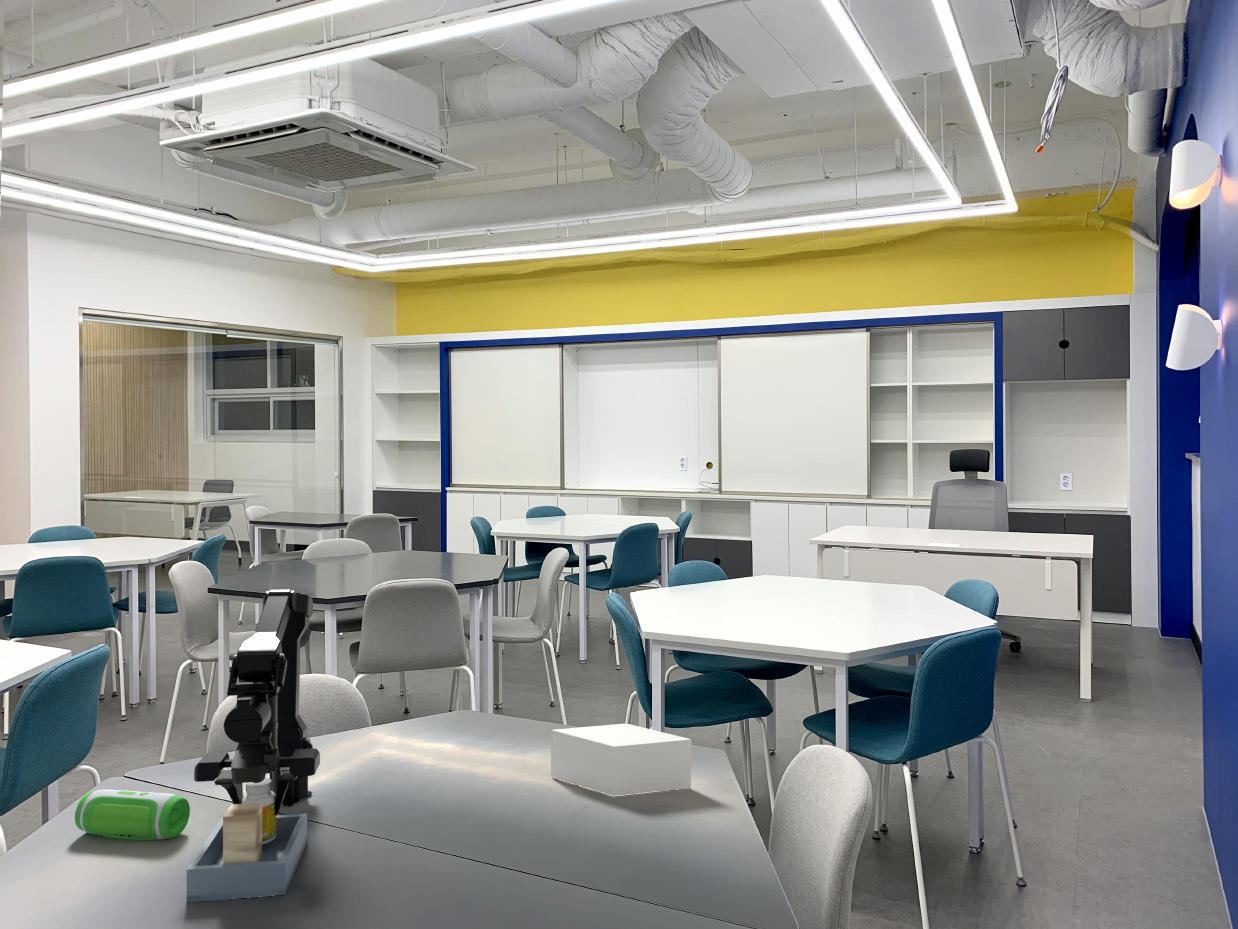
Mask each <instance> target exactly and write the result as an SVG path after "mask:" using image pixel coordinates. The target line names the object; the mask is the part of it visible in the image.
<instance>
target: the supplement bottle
mask: <svg viewBox="0 0 1238 929" xmlns="http://www.w3.org/2000/svg"><path fill="white" fill-rule="evenodd" d="M271 789H272V781H271V779H270V777H265V779H264V780H263V781H262V782H260V783H253V782H248V783H245V793H246V794H244V795H243V798H242V802H241V804H248V803H262V845H263V844H266V843H269V842H271V841H273V840H274V839H275V837H276V815H275V801H276V794H275V793H274V792H273V791H271Z"/></svg>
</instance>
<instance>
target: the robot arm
mask: <svg viewBox="0 0 1238 929" xmlns="http://www.w3.org/2000/svg"><path fill="white" fill-rule="evenodd" d="M262 597H263V598H262V610H261V614H260V616H259V619H258V622H257V625H256V628H255V630H254V632H253V635H252V636H250V637H249V638H247V639H246V640H244V641H243V642H242V643H241V644H240V647H239V648H238V650H237V652H236V654H235V655H233V658H232V662H231V667H230V673H229V678H228V679H229V680H228V685H227V692H226V696H227V697H229V696H230V697H231V696H235V697H236V704H235V706H233V707H232V709H231V710H230V711H229V712H228V713H227V715H226V717H225V719H224V721H223V731H224V734H225V735H226V737H228V739H230V740H231V741H233V742H235V743H237V747H236V750H235V753H234V756H233V758H230V755H229V753H228V752H211V753H210V752H209V753H205V754H204V756H202V757H201V759H200V760H199V761H198V762H197V764H195V766H194V774H193V780H194V781H195V782H197V783H199V782H202V783H203V782H213V783H214V785H215V786H221V787H222V788H223V789H225V790H226V792H227V794H228V796H229V797H230V800H231V802H232V804H241V802H242V798H243V797H244V794H243V793H244V789H243V786H244V783H245V784H246V783H248V782H253V783H260V782H262V781H263V780H264V779H265V778H266V774H269V778H270V779H271V781H272V789H271V791H273V792H274V793H275V794H276V801H275V815H280V814H279V813H280V811H281V808H282V806H285V807H291V806H293V805H295V804H297V803H299V802H301V801H303V800H304V799H306V798H308V797H310V796H312V794H313V791H311V790H309V777H311V776H315V774H316V772H317V770H318V768H319V767H320V765H321V753H320V751H319V750H318V748H315V747H314V745H313V744H312V742H311V738H310V737H309V736H308V726H307V725H306V723H305V722H304V720H303V719H302V717H301V716H300V685H301V684H300V679H301V677H300V675H301V674H300V673H301V639H302V637H303V635H304V633H305V632H306V630H307V629H308V627H309V625H310V620H311V618H312V617H313V613H314V601H313V598H312V597H311V596H310V595H308V594H307V593H304V592H303V593H300V592H297V591H296V590H292V589H291V588H290V589H270V590H268V591H266V592H265V593H264V595H263V596H262ZM237 682H238V683H239V684H237Z"/></svg>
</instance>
